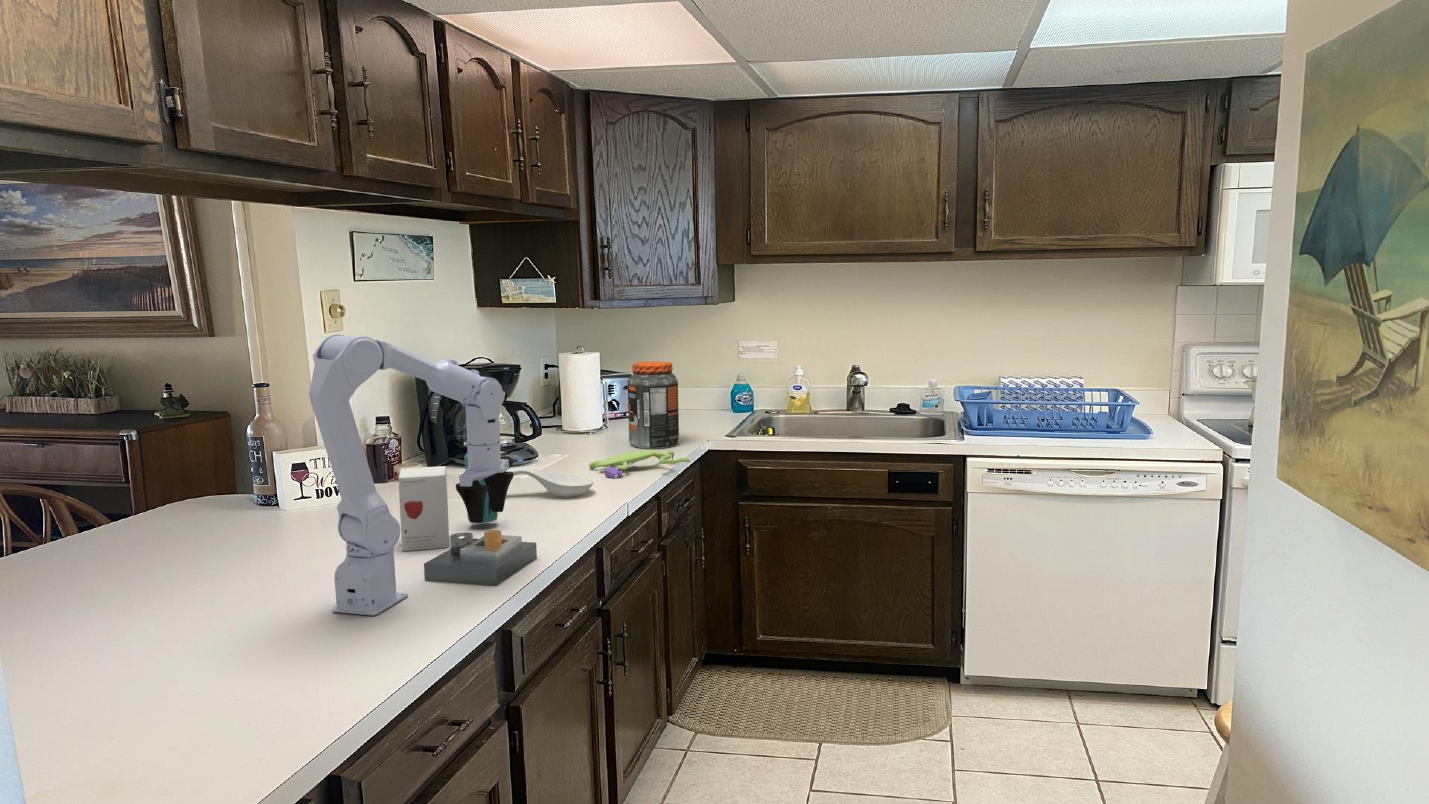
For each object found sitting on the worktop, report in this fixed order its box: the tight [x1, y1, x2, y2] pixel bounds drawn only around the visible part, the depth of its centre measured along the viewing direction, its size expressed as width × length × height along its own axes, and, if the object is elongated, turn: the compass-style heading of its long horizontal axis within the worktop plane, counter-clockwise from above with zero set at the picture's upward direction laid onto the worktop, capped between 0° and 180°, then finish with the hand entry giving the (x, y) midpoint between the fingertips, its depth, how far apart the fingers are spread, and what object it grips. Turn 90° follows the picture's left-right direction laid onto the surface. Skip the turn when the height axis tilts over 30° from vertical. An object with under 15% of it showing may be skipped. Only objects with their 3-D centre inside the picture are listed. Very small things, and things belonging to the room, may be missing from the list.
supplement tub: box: [627, 361, 680, 450], centre depth 285 cm, size 16×16×26 cm
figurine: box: [588, 449, 691, 479], centre depth 249 cm, size 18×27×6 cm
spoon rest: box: [507, 467, 594, 499], centre depth 222 cm, size 24×12×7 cm, turn 98°
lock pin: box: [483, 529, 502, 547], centre depth 166 cm, size 3×3×7 cm
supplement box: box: [398, 465, 450, 552], centre depth 182 cm, size 9×9×15 cm
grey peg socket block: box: [423, 532, 538, 587], centre depth 167 cm, size 16×14×6 cm
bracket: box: [460, 534, 523, 563], centre depth 166 cm, size 10×7×2 cm
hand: (487, 516), depth 165 cm, fingers open, 7 cm apart
